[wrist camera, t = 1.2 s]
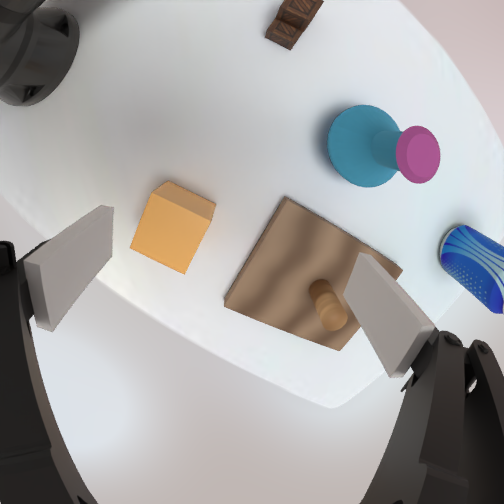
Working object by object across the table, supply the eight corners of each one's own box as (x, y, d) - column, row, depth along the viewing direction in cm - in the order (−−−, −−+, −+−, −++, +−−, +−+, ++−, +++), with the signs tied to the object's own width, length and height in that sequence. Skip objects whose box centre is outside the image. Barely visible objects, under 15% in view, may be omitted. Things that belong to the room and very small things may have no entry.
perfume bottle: (301, 138, 31) (349, 142, 17) (354, 94, 29) (426, 76, 15) (347, 195, 34) (411, 236, 20) (396, 151, 32) (475, 169, 18)
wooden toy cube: (148, 226, 34) (129, 248, 28) (168, 180, 32) (151, 192, 26) (193, 248, 36) (184, 274, 29) (216, 204, 34) (211, 221, 27)
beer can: (475, 243, 38) (537, 285, 23) (448, 278, 40) (504, 331, 25) (458, 211, 35) (530, 251, 21) (428, 250, 38) (494, 304, 23)
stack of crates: (326, 105, 30) (347, 99, 24) (216, 47, 27) (211, 27, 20) (374, 24, 25) (399, 9, 19) (275, -31, 22) (282, -57, 15)
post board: (224, 298, 39) (222, 341, 31) (284, 196, 34) (300, 217, 25) (336, 343, 43) (352, 382, 35) (396, 264, 38) (428, 295, 30)
